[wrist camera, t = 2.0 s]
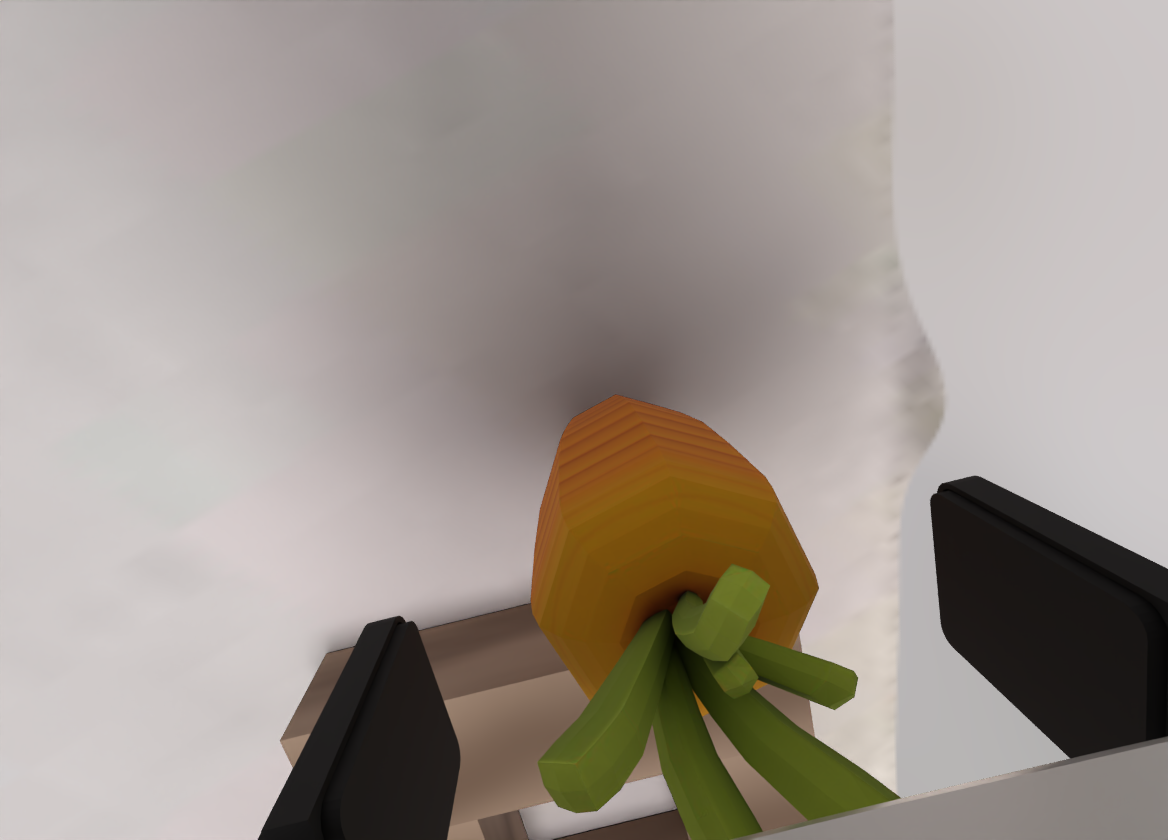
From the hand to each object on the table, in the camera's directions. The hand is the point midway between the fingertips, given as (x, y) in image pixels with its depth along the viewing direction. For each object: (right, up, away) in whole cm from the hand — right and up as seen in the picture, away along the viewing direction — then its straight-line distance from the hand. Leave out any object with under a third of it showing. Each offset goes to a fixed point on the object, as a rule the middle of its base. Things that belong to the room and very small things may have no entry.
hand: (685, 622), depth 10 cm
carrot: (-1, +3, +10) cm, 10 cm away
